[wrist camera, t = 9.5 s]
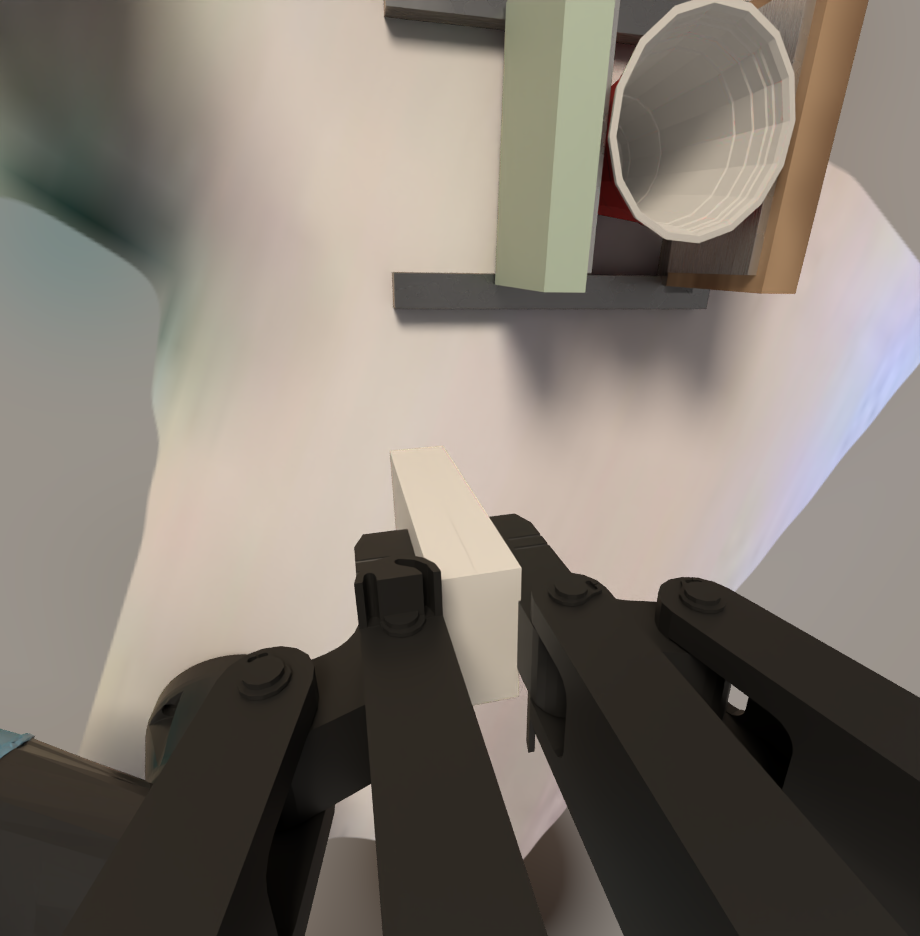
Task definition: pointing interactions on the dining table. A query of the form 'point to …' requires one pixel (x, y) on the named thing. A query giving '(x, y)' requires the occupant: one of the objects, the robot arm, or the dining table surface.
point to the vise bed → (683, 263)
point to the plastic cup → (698, 122)
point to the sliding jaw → (553, 140)
